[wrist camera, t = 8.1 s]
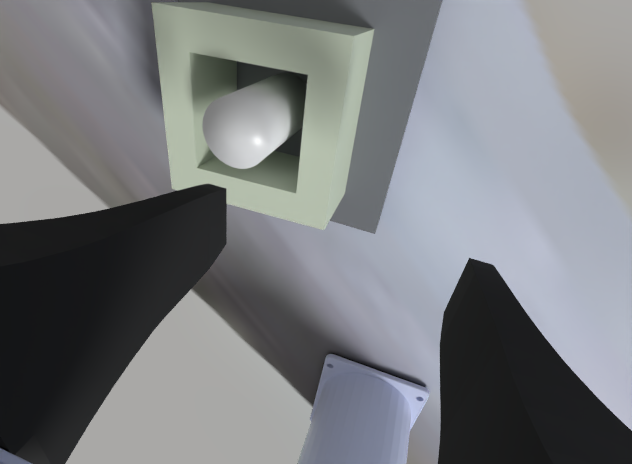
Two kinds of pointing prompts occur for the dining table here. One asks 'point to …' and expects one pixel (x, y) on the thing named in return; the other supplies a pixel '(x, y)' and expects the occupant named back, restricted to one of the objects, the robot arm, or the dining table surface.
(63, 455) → the robot arm
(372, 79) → the post stand
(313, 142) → the collar
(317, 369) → the dining table surface
